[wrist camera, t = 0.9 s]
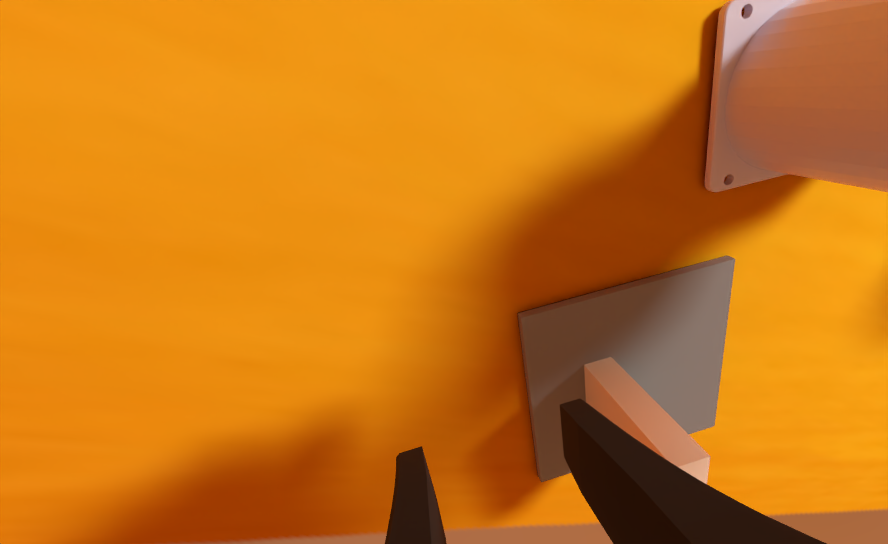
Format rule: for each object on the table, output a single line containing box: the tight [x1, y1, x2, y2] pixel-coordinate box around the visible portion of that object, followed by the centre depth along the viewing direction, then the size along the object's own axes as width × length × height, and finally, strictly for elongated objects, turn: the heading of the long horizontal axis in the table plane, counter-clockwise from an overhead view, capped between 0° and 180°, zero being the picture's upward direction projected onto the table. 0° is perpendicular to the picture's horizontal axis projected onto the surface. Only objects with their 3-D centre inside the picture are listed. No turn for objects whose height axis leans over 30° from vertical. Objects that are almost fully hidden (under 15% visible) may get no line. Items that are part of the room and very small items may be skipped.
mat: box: [518, 256, 735, 482], centre depth 24 cm, size 12×12×1 cm
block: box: [584, 357, 710, 484], centre depth 21 cm, size 2×6×7 cm, turn 11°
